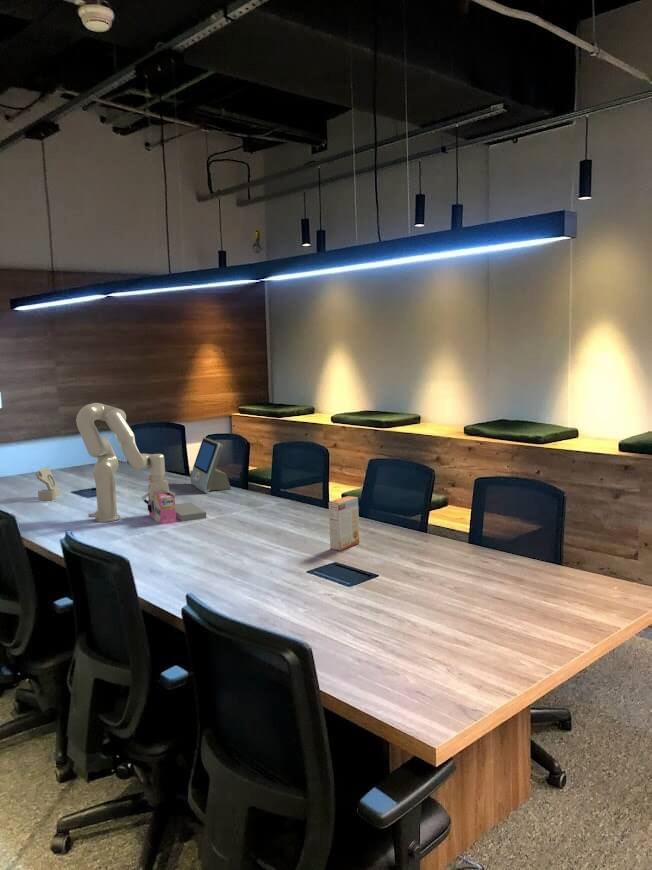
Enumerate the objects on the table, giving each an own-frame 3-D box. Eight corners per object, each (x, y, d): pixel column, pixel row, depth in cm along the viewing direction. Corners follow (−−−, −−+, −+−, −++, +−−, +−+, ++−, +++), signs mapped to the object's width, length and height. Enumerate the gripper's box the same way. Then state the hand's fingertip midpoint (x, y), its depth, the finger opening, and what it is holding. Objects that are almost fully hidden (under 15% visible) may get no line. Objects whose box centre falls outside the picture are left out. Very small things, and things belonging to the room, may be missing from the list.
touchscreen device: (187, 484, 456) (187, 437, 452) (217, 482, 464) (217, 436, 461) (202, 494, 424) (201, 444, 421) (234, 491, 433) (233, 442, 429)
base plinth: (181, 521, 361) (181, 515, 360) (167, 510, 385) (167, 505, 384) (206, 517, 367) (206, 512, 366) (190, 507, 390) (190, 502, 390)
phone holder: (54, 501, 414) (51, 471, 412) (36, 502, 414) (34, 471, 412) (65, 495, 431) (63, 466, 429) (49, 495, 432) (46, 466, 429)
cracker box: (349, 541, 317) (348, 495, 315) (359, 543, 314) (359, 496, 311) (329, 549, 307) (327, 501, 304) (340, 551, 303) (339, 503, 300)
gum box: (148, 515, 376) (146, 489, 374) (162, 513, 380) (161, 487, 378) (161, 524, 356) (159, 497, 354) (176, 522, 359) (175, 495, 358)
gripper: (142, 481, 359) (144, 514, 362) (176, 477, 367) (178, 510, 369) (139, 478, 366) (141, 511, 368) (172, 475, 374) (174, 507, 376)
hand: (159, 510), depth 369 cm, fingers open, 9 cm apart
